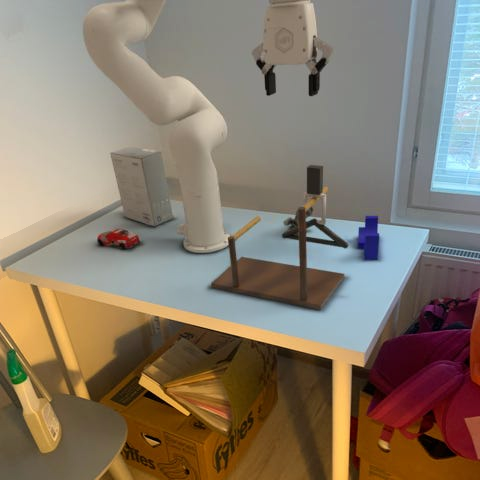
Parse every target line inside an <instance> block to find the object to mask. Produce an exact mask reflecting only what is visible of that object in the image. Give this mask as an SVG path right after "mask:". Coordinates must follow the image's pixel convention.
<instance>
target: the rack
mask: <svg viewBox="0 0 480 480" xmlns="http://www.w3.org/2000/svg"><path fill="white" fill-rule="evenodd" d="M329 189H330V188H329V187H327V186H323V192H322V193H321V194H326V195H327V194H328V192H329ZM320 200H322V198H317V197H311V198H310V199H309V200H308V202H307V203H306V204H304V205H303V204H302V206H299V207H297V210H298V230H299V232H298V235H299V240H298V259H299V261H298V262H299V264H298V265H296V264H295V265H293V264H289V263H288V264H287V263H283V262H276V261H271V260H264V259H258V258H251V257H245V256H241V257H240V258H237V248H236V241H237V240H238V239H239V238H241V237H242V236H243V235H244V234H246V233H247V232H248V231H250V229H252V228H253V227H254V226H256V225H257V224H258V223H259V222H261V221H262V220H261V216H255V217H254V218H253V219H252V220H250V221H249V222H247V224H245V225H244V226H243V227H241V228H240V229H239V230H238V231H236V232H235V233H234V234H232V235H230V237H228V252H229V263H230V266H229V267H228V268H226V270H225V271H223V273H221V274H220V275H219V276H218V277H217V278H215V279H214V280H213V281H212V282H211V283H210V286H211V288H212V289H215V290H221V291H225V292H226V291H227V292H230V293H231V292H232V293H236V294H240V295H244V296H245V295H246V296H250V297H256V298H260V299H265V300H270V301H274V302H279V303H284V304H289V305H294V306H299V307H303V308H309V309H313V310H317V311H321V310H322V309H323V307H325V305H326V304H327V303H328V301H329V300H330V298H331V297H332V295H334V293H335V292H336V290H337V289H338V288H339V286H340V285H341V283H343V281H344V280H345V273H342V272H335V271H331V270H325V269H318V268H312V267H308V266H307V265H308V262H307V261H308V259H307V258H308V257H307V254H308V253H307V242H306V237H307V231H306V222H307V218H306V211H307V210H309V209H310V208H311V207H312V208H313V206H315V204H316V203H318V202H319V201H320Z"/></svg>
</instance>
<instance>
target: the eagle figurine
mask: <svg viewBox="0 0 480 480" xmlns="http://www.w3.org/2000/svg"><path fill="white" fill-rule="evenodd" d="M313 212H314V208H313V206H312V207H311V208H310V209H309V210H307V211H306V219H308V218H309V217H311V216H312V215H313ZM289 225H290V226H292V228H289V230H291V229H293V228H295V227H297V226H298V209H297V210H296V212H295V216H294V218H293V217H291V216H290V217H287V218H286V219H284V221H283V226H285V227H288V226H289ZM306 232H308V228H307V229H306ZM294 235H299V232H298V233H296V234H294Z"/></svg>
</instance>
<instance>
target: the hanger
mask: <svg viewBox="0 0 480 480" xmlns="http://www.w3.org/2000/svg"><path fill="white" fill-rule="evenodd" d="M323 188H324V165H316V164H309V165H307V167H306V191H303V192H302V193H303V194H302V195H303V196H302V197H303V200H302V201H303V202H302V206H303V205H304V204H306V203H307V202H308V201H309V200H308V199H309V197H311V198H312V197H317V198H321V218H320V219H317V218H315V217H314V218H312V219H309V220H308V221H307V220H306V229H307V230H308V229H309V228H311V227H313V226H314V227H316V228H317V229H318V230H319V231H321V232H322V233H323V234H325V235H326V236H327V237H329V238H330V239H325V238H318V237H312V236H306V243H313V244H317V245H319V244H320V245H325V246H331V247H338V248H343V249H347V248H348V247H349V243H348V242H347V241H346V240H345V239H343V238H342V237H341V236H339V235H338V234H336V233H335V232H334V231H332V230H331V229H330V228H329V227H327V226H326V220H327V219H326V218H327V217H326V216H327V214H326V213H327V193H326V194H321V193H322V192H323ZM292 228H293V227H292ZM290 229H291V228H290ZM290 229H288V230H286V231H285V232H283V233H282V234H281V238H282V239H289V240H294V241H299V230H298V226H297V227H295V228H293V229H291V230H290ZM296 233H298V234H297V235H294V234H296Z"/></svg>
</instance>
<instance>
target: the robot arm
mask: <svg viewBox="0 0 480 480" xmlns="http://www.w3.org/2000/svg"><path fill="white" fill-rule="evenodd" d="M166 2H167V0H124V1H116V2H114V1H113V2H106V3H105V2H104V3H100V4H96V6H93V7H92V8H90V9H89V10H88V11H87V13H86V14H85V16H84V17H83V22H82V37H83V38H82V39H83V42H84V46H85V48H86V51H87V53H88V56H89V57H90V59H91V60H92V62H93V63H94V65H95V66H96V67H97V68H98V69H99V71H101V72H102V74H103V75H104V76H105V77H107V78H108V79H109V80H110V81H111V82H112V83H113V84H114V85H115V86H117V88H118V89H119V90H120V91H121V92H122V93H123V94H124V95H125V96H126V98H128V99H129V101H130V102H131V103H132V104H133V105H134V106H135V107H136V108H137V109H138V110H139V111H140V112H141V113H142V114H143V115H144V117H146V118H147V119H148V120H149V121H150V122H151V123H152V124H154V125H155V126H167V125H169V124H172V123H173V122H176V121H178V122H177V123H175V124H174V126H173V127H172V128H171V130H170V133H169V137H168V138H169V139H168V145H169V150H170V153H171V156H172V159H173V162H174V164H175V168H176V174H177V177H178V183H179V188H180V195H181V200H182V201H181V202H182V208H183V213H184V220H185V224H184V223H179V224H178V229H177V230H176V234H178V235H183V236H184V240H183V247H184V249H185V250H187V251H188V252H191V253H195V254H207V253H208V254H209V253H214V252H219V251H221V250H223V249H224V248H227V247H229V245H228V237H230V236H231V235H230V233H229V232H226V231H225V229H224V219H223V211H222V203H221V195H220V186H219V177H218V173H217V169H216V166H215V163H214V161H213V159H212V155H211V153H213V152H214V151H216V150H217V149H218V148H220V147H222V145H223V144H224V143H225V142H226V140H227V137H228V125H227V122H226V120H225V118H224V117H223V115H222V114H221V113H220V111H218V109H217V108H216V107H215V106H214V105H213V103H211V102H210V101H209V99H208V98H207V97H206V96H205V95H204V94H203V93H202V91H200V89H198V88H197V86H196V85H194V84H193V83H192V81H190V80H188V79H187V78H185V77H183V76H179V75H172V76H167V77H162V76H160V75H159V74H158V73H157V72H156V71H155V70H153V68H152V67H151V66H150V65H149V64H148V63H147V62H146V60H145V59H143V58H142V57H141V56H139V55H137V54H136V53H135V52H133V51H132V50H130V49H129V48H128V47H127V46H132V45H136V44H140V43H142V42H144V41H145V40H146V39H147V38H148V37H149V36H150V34H151V33H152V31H153V29H154V27H155V25H156V23H157V20H158V18H159V17H160V14H161V12H162V9H164V6H165V4H166ZM268 2H269V6H266V7H265V13H264V21H263V32H262V33H263V36H262V37H263V38H262V42H261V43H260V44H259V45H257V46H256V47H255V48H253V49H252V50H251V55H252V57H253V60H254V61H255V65H256V67H258V69H259V70H260V71H261V74H262V75H263V76H264V79H263V80H264V90H265V95H266V96H267V97H270V96H272V95H275V94H276V93H277V81H276V80H277V79H276V73H275V72H274V70H275V68H276V66H289V65H290V66H292V65H293V66H295V65H297V66H298V65H304V64H305V66H306V68H307V69H308V70H309V71H310V73H309V74H308V96H309V97H314V96H317V95H318V94H319V91H320V89H321V87H320V86H321V72H322V71H323V69H324V68H325V67H326V66H327V64H328V63H329V61H330V58H331V56H332V54H333V51H334V47H333V46H331V45H330V44H329V43H327V42H325V41H323V40H321V39H320V38H318V28H317V20H316V19H317V18H316V12H315V7H314V3H313V2H311V0H268ZM318 50H319V51H321V52H322V55H321V58H320V59H319V60H318V59H317V57H318Z"/></svg>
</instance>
